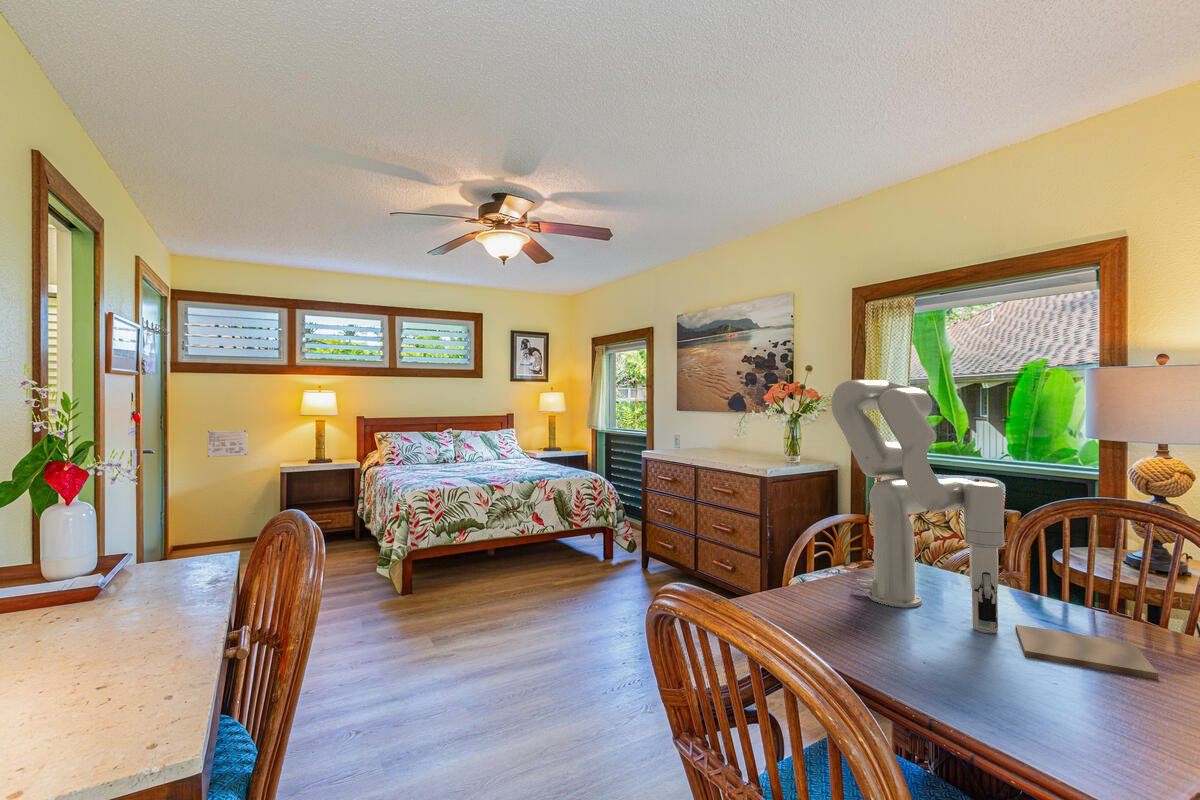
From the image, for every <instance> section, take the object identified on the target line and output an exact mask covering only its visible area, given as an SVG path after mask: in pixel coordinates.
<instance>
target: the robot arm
mask: <svg viewBox="0 0 1200 800" xmlns="http://www.w3.org/2000/svg"><path fill="white" fill-rule="evenodd" d="M831 397H832V398H831V401H830V402H831V413H832V415H833V417H834V419H835V421H836V423H837V424H838V425H837V426H839V428H840V430H841V431H842V434H843V435H844V437H845V439H846V441H847V443H848V444H847V445H849V447H850V450H851V452H852V454H853V456H854V458H855V460H856V462H857V464H858V466H859V468H860V470H861V472H862V473H863V474H864V475H866V477H870V478H886V477H889V478H887V479H883V480H880V481H878V482H876V483H875V484H874V485H872V487H871V488H870V491H869V495H868V500H869V506H870V509H871V510H870V511H871V516H872V524H873V560H874V561H873V567H874V570H873V571H874V572H873V573H874V574H873V579H869V580H865V579H861V578H856V581H855V583H856V587H860V588H859V589H865V590H868V592H867V596H868V598H869V599H870V600H871V601H873V602H875V603H877V602H878V604H880V603H881V604H880V605H884V604H885V605H884V606H888V605H889V606H888V607H894V606H895V608H916V607H919V606H921V605H922V604H923V599H922V597H921V596H920V595H919V594H916V572H915V571H916V567H915V565H916V564H915V563H916V561H915V559H916V558H915V557H916V556H915V553H916V552H915V551H916V550H915V531H914V527H913V524H912V522H911V520H910V517H909V515H913V514H921V513H924V512H927V511H929V512H933V513H941V512H950V511H957V510H958V511H960V510H963V526H964V528H963V529H964V532H963V533H964V536H963V537H964V543H965V544H967V545H969V553H968V554H969V556H968V557H969V584H970V588H971V590H972V589H973V590H975V589H978V588H979V601H978V618H979V620H982V621H989V622H996V603H995V599H994V592H997V593H998V590H999V589H998V588H999V587H998V585H999V548H1004V547H1005V525H1004V524H1005V516H1004V515H1005V514H1004V512H1005V509H1004V506H1005V505H1004V490H1003V488H1002V486H1001V485H1000V484H998V483H993V482H986V481H973V480H968V479H965V478H962V477H961V478H959V477H950V478H938V477H937V476H936V474H935V473H934V471H933V469H932V468H931V466H930V462H929V460H928V451H929V448H930V447H931V446H933V444H934V443H935V442H936V440H937V433H936V432H935V431H934V428H933V427H932V426H931V424H930V423H929V421H928V420H927V417H929V415H930V414H931V413H932V411H933V401H932V398H931V397H930V395H929V394H928V393H927V392H926V391H925V390H923V389H920V388H918V387H913V386H909V385H904V384H901V383H897V382H893V381H889V380H882V379H851V380H846V381H843V382H842V383H840V384H839V385H838V386H836V388H835V389H834V391H833V393H832V396H831ZM875 410H876V411H877V410H878V411H879V412H880V414H881V416H882V417H883V419H884V420H885V422H886V424H887V426H888V428H889V429H890V431H891V433H892V434H893V436H894V438H895V440H896V441H886V440H885V439H884V438H883V436H882V435H881V433H880V431H879V428H878V426H877V425H876V424H875V422H874V421H873V420H872V418H870V417H869V416H868V415H867V414H866V413H865V412H864V411H875ZM982 575H983V580H982ZM981 587H984V588H981ZM982 592H983V593H982Z"/></svg>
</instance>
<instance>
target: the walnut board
mask: <svg viewBox="0 0 1200 800" xmlns="http://www.w3.org/2000/svg"><path fill="white" fill-rule="evenodd" d="M1015 632H1016V635H1017V638H1018V641H1019V643H1020V646H1021V649H1022V652H1023V654H1024V657H1025V658H1032V659H1036V660H1042V661H1049V662H1053V663H1060V664H1066V665H1072V666H1077V667H1083V668H1088V669H1095V670H1101V671H1104V672H1105V671H1106V672H1111V673H1112V672H1113V673H1118V674H1124V675H1129V676H1135V677H1141V678H1146V679H1152V680H1159V672H1158V671H1157V670H1156V669H1155V667H1154V666H1153V665H1152V664H1151V663H1150V661H1149V660H1148V659H1147V658H1146V656H1145V654H1143V653H1142V652H1141V651H1140V649H1139V648H1138V647H1137V646H1136V645H1135V643H1134V642H1132V641H1126V640H1121V639H1120V640H1119V639H1113V638H1107V637H1106V638H1105V637H1102V636H1101V637H1100V636H1093V635H1087V634H1081V633H1073V632H1067V631H1062V630H1061V631H1060V630H1054V629H1047V628H1041V627H1034V626H1027V625H1023V624H1022V625H1020V624H1015Z"/></svg>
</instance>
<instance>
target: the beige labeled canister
mask: <svg viewBox="0 0 1200 800" xmlns="http://www.w3.org/2000/svg"><path fill="white" fill-rule="evenodd" d="M982 580H983V575H982ZM981 588H984V587H981ZM971 592H972V593H971V598H972V599H971V601H972V602H971V603H972V604H971V606H972V607H971V608H972V609H971V610H972V615H971V616H972V628H973V629H974V630H975V631H977V632H979V633H981V632H982V633H983V634H986V635H990V634H991V635H992V634H995V633H998V631H999V623H998V622H999V621H998V619H999V616H998V615H999V613H998V611H999V610H998V607H999V606H998V602H999V601H998V591H997V592H994V599H995V603H996V622H989V621H982V620H979V618H978V601H979V588H978V589H975V590H973V589H972V588H971ZM982 593H983V592H982ZM982 633H981V634H982Z"/></svg>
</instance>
